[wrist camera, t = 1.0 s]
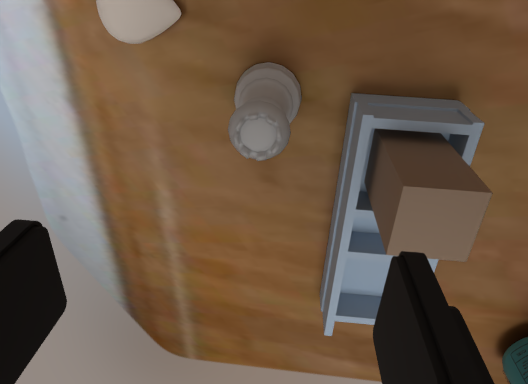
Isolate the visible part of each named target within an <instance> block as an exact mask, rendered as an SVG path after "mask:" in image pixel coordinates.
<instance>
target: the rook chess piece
mask: <svg viewBox="0 0 528 384" xmlns="http://www.w3.org/2000/svg"><path fill="white" fill-rule="evenodd" d="M301 99H302V97H301V89H300V84H299V83H298V81H297V79H296V78H295V76H294V74H293V73H292V72H290V71H289V70H288V69H286V68H285V67H284V66H282V65H279V64H275V63H271V62H267V63H261V64H255V65H254V66H252V67H251V68H249V69H248V70H246V71H245V72H244V73H243V75H242V76H241V78H240V79H239V81H238V82H237V86H236V91H235V96H234V102H235V106H236V110H235V112H234V113H233V115H232V116H231V118H230V121H229V127H228V132H229V137H230V141H231V142H232V144H233V145H234V147H235V148H236V150H237V151H239V152H240V154H241V155H243V156H244V157H246V158H247V159H248V158H252V159H257V161H262V160H266V159H270V158H272V157H274V156H276V155H278V154H279V153H281V152H282V150H283V149H284V148H285V147H286V145H287V144H288V141H289V137H290V133H291V132H290V125H289V124H290V123H291V122H292V120H293V119H294V118H295V117H296V115H297V113H298V110H299V106H300V102H301Z"/></svg>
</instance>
